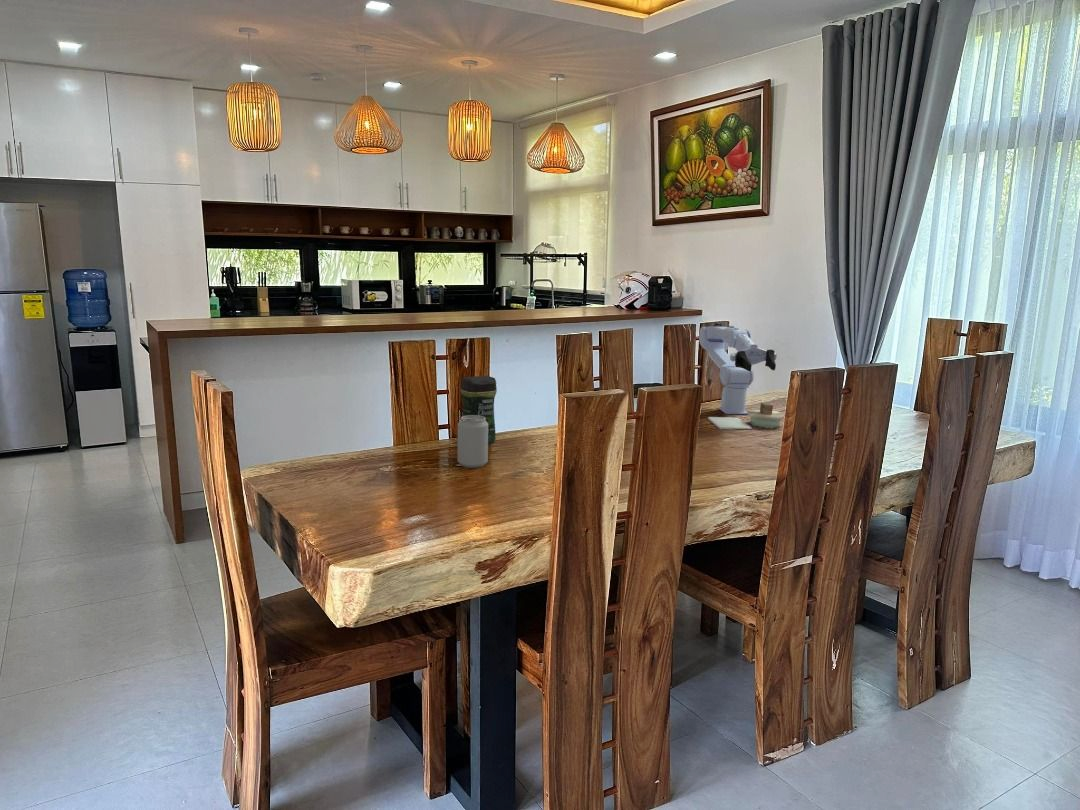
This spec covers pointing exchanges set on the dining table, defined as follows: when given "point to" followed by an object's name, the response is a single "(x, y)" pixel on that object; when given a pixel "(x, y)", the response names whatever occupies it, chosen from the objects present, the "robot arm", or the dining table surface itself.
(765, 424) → the bowl
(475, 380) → the coffee jar
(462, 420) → the can
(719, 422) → the mat
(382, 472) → the dining table surface
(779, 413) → the lid
